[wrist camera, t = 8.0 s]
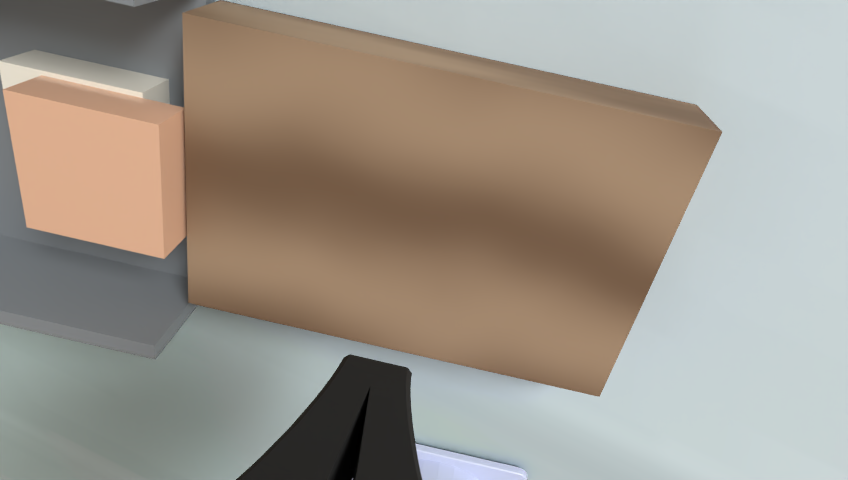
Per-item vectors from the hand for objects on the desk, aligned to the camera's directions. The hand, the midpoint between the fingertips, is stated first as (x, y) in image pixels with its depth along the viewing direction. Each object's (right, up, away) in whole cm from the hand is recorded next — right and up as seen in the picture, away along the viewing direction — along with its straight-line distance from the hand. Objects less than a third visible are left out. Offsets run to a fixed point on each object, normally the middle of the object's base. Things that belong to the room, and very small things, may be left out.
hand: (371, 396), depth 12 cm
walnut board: (+1, +5, +8) cm, 10 cm away
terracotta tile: (-9, +6, +7) cm, 12 cm away
